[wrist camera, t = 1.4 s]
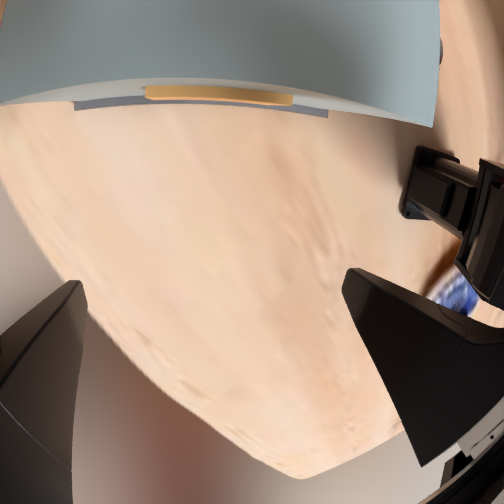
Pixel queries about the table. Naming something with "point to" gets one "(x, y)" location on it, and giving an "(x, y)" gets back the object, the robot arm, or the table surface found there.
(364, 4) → the box
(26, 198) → the table surface
